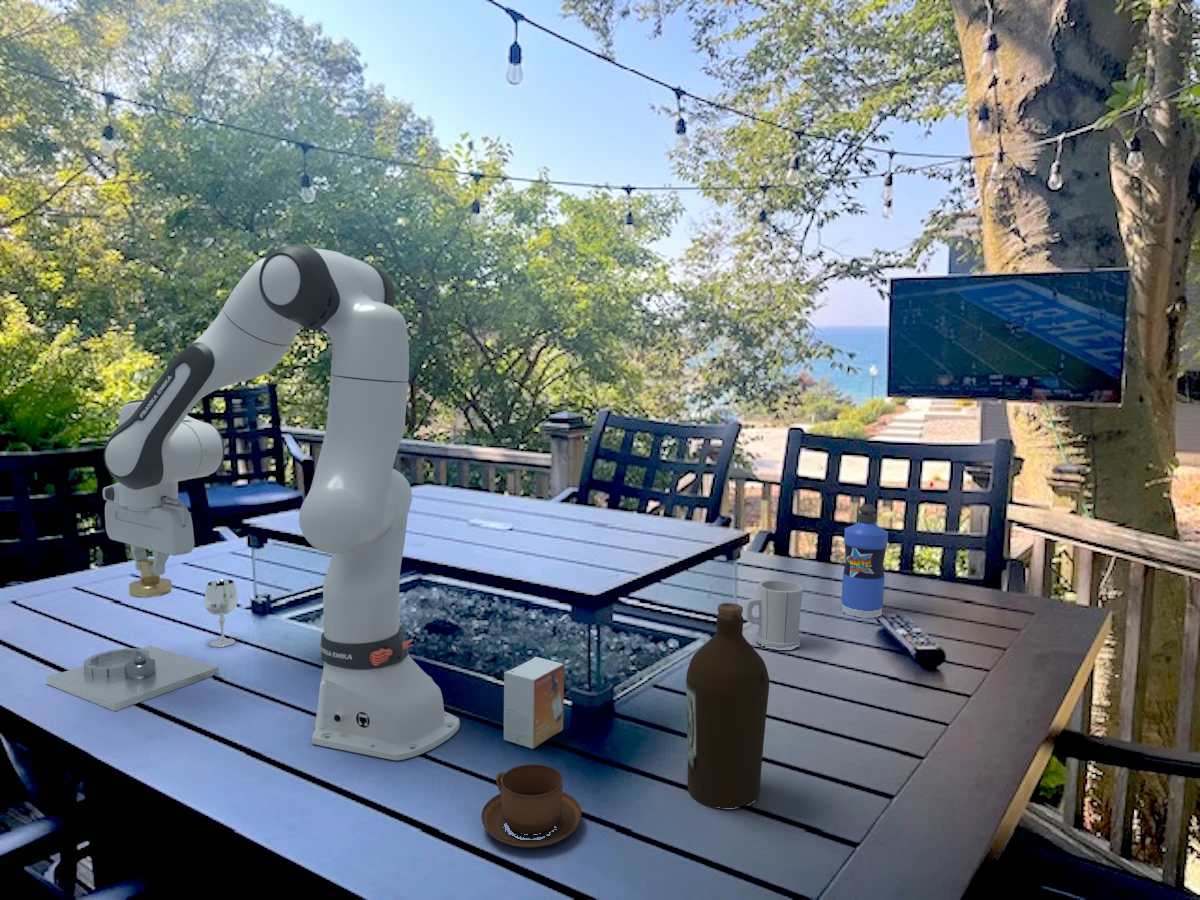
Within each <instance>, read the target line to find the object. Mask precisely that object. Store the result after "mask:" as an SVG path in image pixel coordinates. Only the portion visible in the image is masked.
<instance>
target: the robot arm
mask: <svg viewBox="0 0 1200 900" xmlns="http://www.w3.org/2000/svg"><path fill="white" fill-rule="evenodd" d="M395 302H396V292H395V288H394V283H393V281H392V279H391V278H390V276H389V275H388V274H387V272H385V271H384V269H383V270H382V269H381V268H380V267H378V265H376V264H373V263H371V262H369V261H366V260H359V259H357V258H354V257H351V256H348V255H345V254H343V253H342V252H339V251H335V250H330V249H329V250H328V249H324V248H313V247H310V246H307V245H302V244H301V245H300V244H298V245H296V244H295V245H293V244H292V245H285V246H282V247H277V248H275V249H273V250H272V251H271V252H270V253H269V254H268V255H267V256H266V257H263V258H260V259H258V260H257V261H256V262H255V263H254V264H253V265H251V267H250V268H249V269H248V270H247V271H246V273H245V274H244V275H243V276H242V277H241V279H240V280H239V281H238V283H237V284H236V285H235V287H234V288H233V289H232V292H231V293H230V295H229V296H228V297H227V300H226V301H225V303H224V305H223V306H222V308H221V309H220V311H219V312H218V314H217V316H216V318H214V320H213V321H212V322H211V323H210V325H209V326H208V327H207V328H206V329H205V331H204V332H202V334H200V336H198V338H196V339H195V340H194V341H192V343H190V344H189V345H187V346H186V347H185V348H183V350H181V351H180V352H179V353H178V354H177V355H176V356H175V358H174V359H173V360H172V361H171V363H170V364H168V366H167V367H166V369H165V370H164V372H163V373H162V374H161V375H160V377H159V378H158V380H157V381H156V383H155V384H154V385H153V387H152V388H151V389H150V391H149V392H148V394H146V396H145V397H144V398H141V399H135V400H131V401H128V402H126V403H125V404H123V405H122V407H121V410H120V413H119V416H118V421H117V422H118V423H117V427H116V428H115V430H114V431H112V433H111V434H110V435H109V438H108V440H107V441H106V444H105V446H104V450H103V461H104V466H105V467H106V470H107V471H108V472H109V474H110V475H111V476H112V477H113V479H114V480H116V481H117V482H116V483H113V484H111V485H109V486H105V487H103V489H102V498H103V500H105V501H106V502H105V504H104V505H105V506H104V521H105V522H104V523H105V531H106V533H107V536H108V538H109V539H110V540H112V541H116V542H120V543H123V544H127V545H130V552H131V555H132V557H133V558H134V562H135V570H136V571H140V572H141V560H144V559H149V558H148V555H147V550H150V551H152V556H153V557H154V558H153V559H154V561H153V564H150V573H151V574H153V575H156V576H158V575H160V576H161V575H165V572H166V563H167V561H168V559H169V557H170V556H173V557H174V556H175V557H176V556H182V555H187V554H191V552H193V549H194V548H195V536H194V535H195V534H194V533H195V532H194V526H193V518H192V515H191V512H190V511H189V509H188V507H187V506H186V505H185V504H184V501H183V500H181V499H180V498H179V482H182V481H188V480H192V479H198V478H203V477H206V476H209V475H210V476H211V475H213V474H214V473H216V472H217V471H218V470H219V468H220V467H221V466H222V464H223V462H224V459H225V453H226V448H225V442H224V439H223V436H222V435H221V433H220V431H219V430H218V429H217V428H216V427H215V426H214V425H212V423H210V422H206V421H201V420H198V419H196V418H193V417H191V416H190V415H188V414H189V413H190V412H191V410H192V409H193V408H194V406H195V405H196V404H197V403H198V402H199V401H200V400H202V398H204V397H206V396H207V395H209V394H211V393H214V392H215V391H217V390H220V389H222V388H225V387H228V386H232V385H234V384H239V383H241V382H245V381H250V380H253V379H257V378H260V377H263V376H264V375H267V374H268V373H269V372H271V371H272V369H274V368H275V367H276V366H277V365H278V364H279V362H280V361H281V360H282V359H283V358H284V356H285V355H286V354H287V352H288V350H289V347H290V346H291V344H292V342H293V341H294V339H295V337H296V336H297V334H298V332H299V330H300V328H301V327H304V328H306V329H308V330H309V331H316V330H318V329H320V328H321V329H323V330H324V331H325V332H326V333H327V335H328V337H329V338H330V342H331V347H332V351H331V352H332V357H331V368H330V378H329V381H330V382H329V390H328V391H329V392H328V393H329V394H328V404H327V405H328V406H327V417H326V427H325V433H324V436H323V441H322V444H321V445H322V446H321V449H320V452H319V456H318V459H317V464H316V466H315V470H314V475H313V478H312V481H311V482H312V483H311V485H310V489H309V491H308V493H307V495H306V496H305V499H304V501H303V502H302V504H301V507H300V510H299V515H298V522H299V523H298V524H299V528H300V530H301V534H302V535H303V536H304V538H305V540H306V541H307V542H308V543H309V544H310V545H311V546H312V547H313V548H314V549H316V550H318V551H320V552H324V553H326V554H331V559H330V562H329V566H328V569H327V571H326V572H327V573H326V575H325V577H324V579H323V585H322V597H323V599H322V600H323V602H322V603H323V605H322V607H323V632H322V633H321V636H320V645H319V648H320V658H321V660H322V661H323V667H322V674H321V677H320V684H319V690H318V701H317V712H316V716H315V718H314V719H315V720H314V722H313V728H314V731H313V732H312V734H311V735H312V736H311V743H312V745H313V744H314V745H316V746H321V747H326V748H331V749H335V750H339V751H340V750H341V751H346V752H351V753H356V754H360V755H366V756H371V757H375V758H382V759H387V760H391V761H403V760H406V759H410V758H415V757H417V756H419V755H422V754H424V753H426V752H430V750H433V749H435V748H436V747H438V746H440V745H441V744H443V743H446V741H447V740H449V739H450V738H451V737H453V736H454V735H455V734H456V733H457V732H458V730H459V729H460V725H461V722H460V718H459V717H457V716H455V715H453V714H451V713H449V712H447V711H445V708H444V699H443V693H442V691H441V688H440V687H439V686H438V684H436V683H435V681H434V680H433V678H432V677H431V676H430V675H428V674H427V673H426V672H425V671H424V670H423V669H422V668H421V667H420V666H419V664H417V663H416V662H415V660H414V659H413V658H412V657H411V656H410V655H409V653H410V651H409V648H410V647H413V646H414V644H413V643H412V642H413V641H414V638H410V639H408V640H406V638H405V635H404V633H403V632H404V631H403V630H402V627H401V626H400V578H401V577H400V576H401V575H400V574H401V568H402V561H403V554H404V550H405V549H404V548H405V542H406V541H405V540H406V534H407V524H408V515H409V512H410V508H411V505H412V500H413V492H412V487H411V485H410V483H409V481H408V479H407V477H406V476H404V475H403V473H402V472H400V471H399V470H397V469H395V468H394V465H395V460H396V457H397V453H398V450H399V447H400V444H401V441H402V440H403V439H404V434H405V425H406V413H407V403H408V402H407V400H408V389H409V387H408V386H409V373H410V351H409V350H410V349H409V336H408V335H409V334H408V328H407V326H408V325H407V322H406V319H405V317H404V316H403V314H402V313H401V312H400V311H399V309H396V308H394V305H395ZM411 643H412V644H411Z"/></svg>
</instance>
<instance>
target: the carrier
mask: <svg viewBox="0 0 1200 900" xmlns="http://www.w3.org/2000/svg"><path fill="white" fill-rule="evenodd" d="M218 674H220V671H219V666H216V665H214V664H209V663H208V662H204V661H201V660H198V659H194V658H192V657H188V656H186V655H182V654H179V653H176V652H173V651H169V650H167V649H163V648H160V647H157V646H153V645H148V646H145V647H141V648H139V647H138V648H134V647H133V648H132V647H131V648H128V647H127V648H118V649H110V650H106V651H103V652H100V653H96V654H94V655H92V656H90V657H89V658H86V659H85V660H84V661H83V665H82V666H77V667H75V668H72V669H68V670H66V671H62V672H59V673H55V674H52V675H49V676H48V675H47V676H46V678H45V680H46V685H48V686H51V687H53V688H56V689H58V690H60V691H63V692H65V693H69V694H71V695H73V696H74V697H77V698H80V699H83V700H85V701H88V702H91V703H93V704H95V705H98V706H101V707H102V708H106V709H108V710H111V711H113V712H116V711H119V710H120V711H121V710H123V709H125V708H128V707H130V706H134V705H136V704H138V703H142V702H145V701H148V700H151V699H152V698H155V697H158V696H162V695H164V694H166V693H169V692H172V691H174V690H178V689H180V688H183V687H186V686H189V685H191V683H192V684H194V683H197V682H200V681H203V680H206V679H208V678H211V677H213V675H214V676H216V675H218Z"/></svg>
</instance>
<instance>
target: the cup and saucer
mask: <svg viewBox="0 0 1200 900" xmlns="http://www.w3.org/2000/svg"><path fill="white" fill-rule="evenodd" d="M495 781H496V787H497V789H498V791H499V794H497V795H495V796H493V797H491V798H490V799H489V800H488V801H487V803H486V804H484V806H483V808H482V811H481V822H482V825H483V827H484V830H486V832H487V833H488V834H489V835H490V836H492V837H493V838H494V839H495V840H497V841H499V842H501V843H503V844H506V845H509V846H512V847H518V848H530V849H531V848H540V847H547V846H549V845H553V844H556V843H559V842H560V841H563V840H564V839H565V838H568V837H569V836H570V835H571V834H573V833H574V831H575V830H576V829H577V828H578V827H579V825H580V822H581V818H582V814H583V813H582V808H581V806H580V804H579V802H578V801H577V800H576V799H575V798H574V797H573V796H571V795H569V794H568V793H567V792H564V791H563V783H564V780H563V775H562V774H561V772H560V771H559V770H557V769H556V768H554V767H551V766H548V765H545V764H537V763H535V764H534V763H533V764H524V765H523V764H522V765H518V766H515V767H512V768H510V769H509V770H507V771H499V772H498V774H497V775H496V780H495ZM505 823H507V825H508V826H509V828H510V830H511V831H512V832H513V833H514V834H516V835H515V836H517V835H518V837H520V836H521V837H522V838H523V837H524V838H530V839H533V838H537V837H543V836H545V838H543V839H541V840H520V839H517V838H515V837H514V836H512V835H509V834H508V832H507V830H506V832H505V827H504V824H505ZM554 826H556V827H557V828H554ZM503 827H504V828H503ZM554 829H557V830H554ZM552 830H554V832H551V831H552ZM549 832H551V833H550V834H551V835H550V836H546V835H547V834H549ZM521 833H522V834H521ZM539 833H541V834H539ZM524 834H528V835H524ZM533 834H538V835H533Z"/></svg>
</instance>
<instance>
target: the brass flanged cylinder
mask: <svg viewBox="0 0 1200 900" xmlns="http://www.w3.org/2000/svg"><path fill="white" fill-rule="evenodd" d="M153 561H154V558H148V559H144V560H141V571H140V579H138V580H134V581H132V582H130V583H129V585H128V591H129V592H128V594H129V596H130V597H132V598H138V599H143V598H144V599H149V598H150V599H151V598H158V597H162V596H165V595H168V594H169V593H172V590H173V589H172V585H173V584H172V580H171V579H169V578H162V577H160V576H161V575H158V576H156V575H153V574H151V573H150V564H153Z"/></svg>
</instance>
